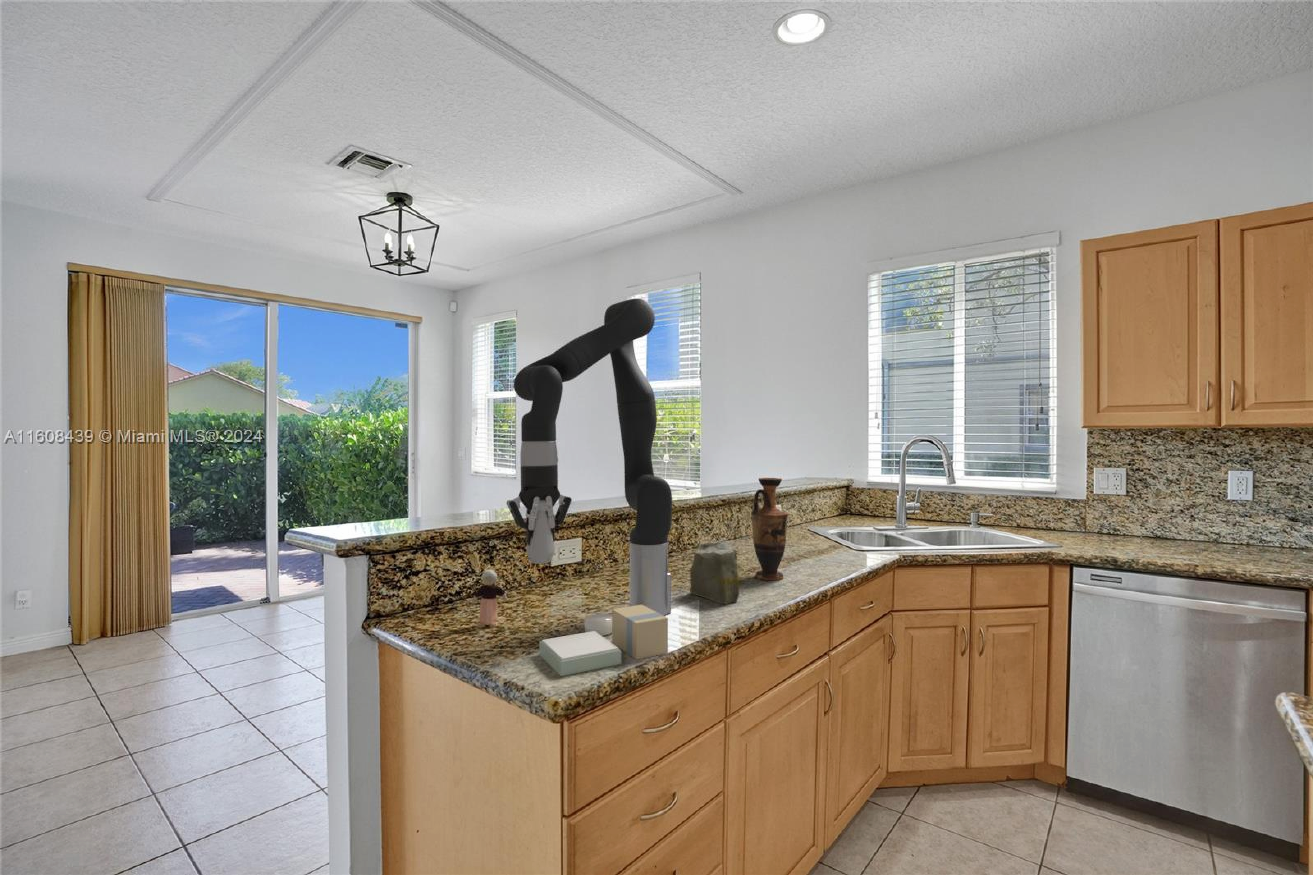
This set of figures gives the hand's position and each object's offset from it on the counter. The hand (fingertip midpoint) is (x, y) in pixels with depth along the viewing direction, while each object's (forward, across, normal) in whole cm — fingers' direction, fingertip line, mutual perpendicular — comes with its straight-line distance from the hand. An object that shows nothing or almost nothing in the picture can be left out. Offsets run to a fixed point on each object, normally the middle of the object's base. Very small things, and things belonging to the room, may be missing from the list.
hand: (540, 546), depth 126 cm
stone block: (+21, -54, -12) cm, 59 cm away
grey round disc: (+20, -14, -1) cm, 24 cm away
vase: (+21, -79, -22) cm, 84 cm away
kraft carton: (+20, -17, +12) cm, 29 cm away
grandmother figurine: (+20, +6, -17) cm, 27 cm away
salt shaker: (+3, 0, 0) cm, 3 cm away
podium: (+20, -4, +12) cm, 24 cm away
